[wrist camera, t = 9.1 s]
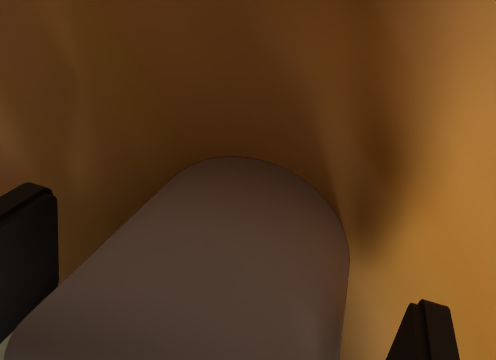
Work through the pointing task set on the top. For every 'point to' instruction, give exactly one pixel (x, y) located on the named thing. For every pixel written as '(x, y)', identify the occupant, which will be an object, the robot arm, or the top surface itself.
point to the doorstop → (205, 276)
